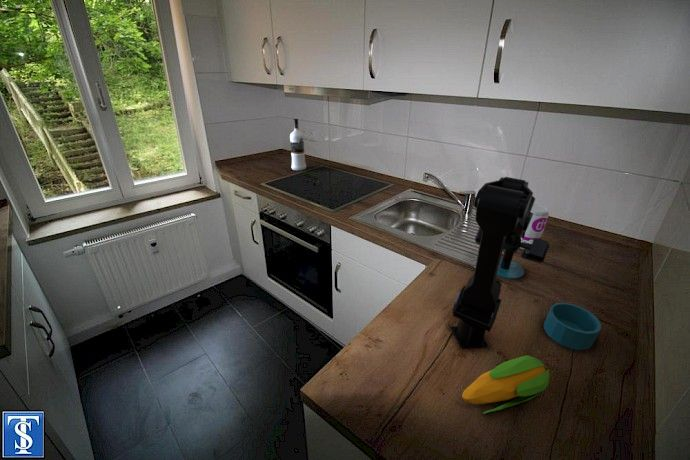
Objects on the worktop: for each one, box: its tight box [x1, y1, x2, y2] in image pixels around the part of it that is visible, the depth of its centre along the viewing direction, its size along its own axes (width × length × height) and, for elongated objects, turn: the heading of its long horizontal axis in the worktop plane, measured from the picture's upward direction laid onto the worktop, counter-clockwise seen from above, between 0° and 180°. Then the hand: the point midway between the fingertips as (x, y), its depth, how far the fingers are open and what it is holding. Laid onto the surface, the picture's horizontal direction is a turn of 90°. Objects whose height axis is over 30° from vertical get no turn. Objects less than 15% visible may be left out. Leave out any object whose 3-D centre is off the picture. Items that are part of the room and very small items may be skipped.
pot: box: [543, 302, 602, 351], centre depth 76 cm, size 10×10×5 cm
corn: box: [461, 354, 550, 415], centre depth 61 cm, size 7×8×20 cm
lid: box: [496, 249, 525, 280], centre depth 99 cm, size 11×11×10 cm
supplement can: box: [518, 203, 550, 250], centre depth 111 cm, size 8×8×15 cm
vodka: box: [289, 118, 307, 172], centre depth 190 cm, size 9×9×30 cm
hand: (510, 251), depth 99 cm, fingers open, 7 cm apart
